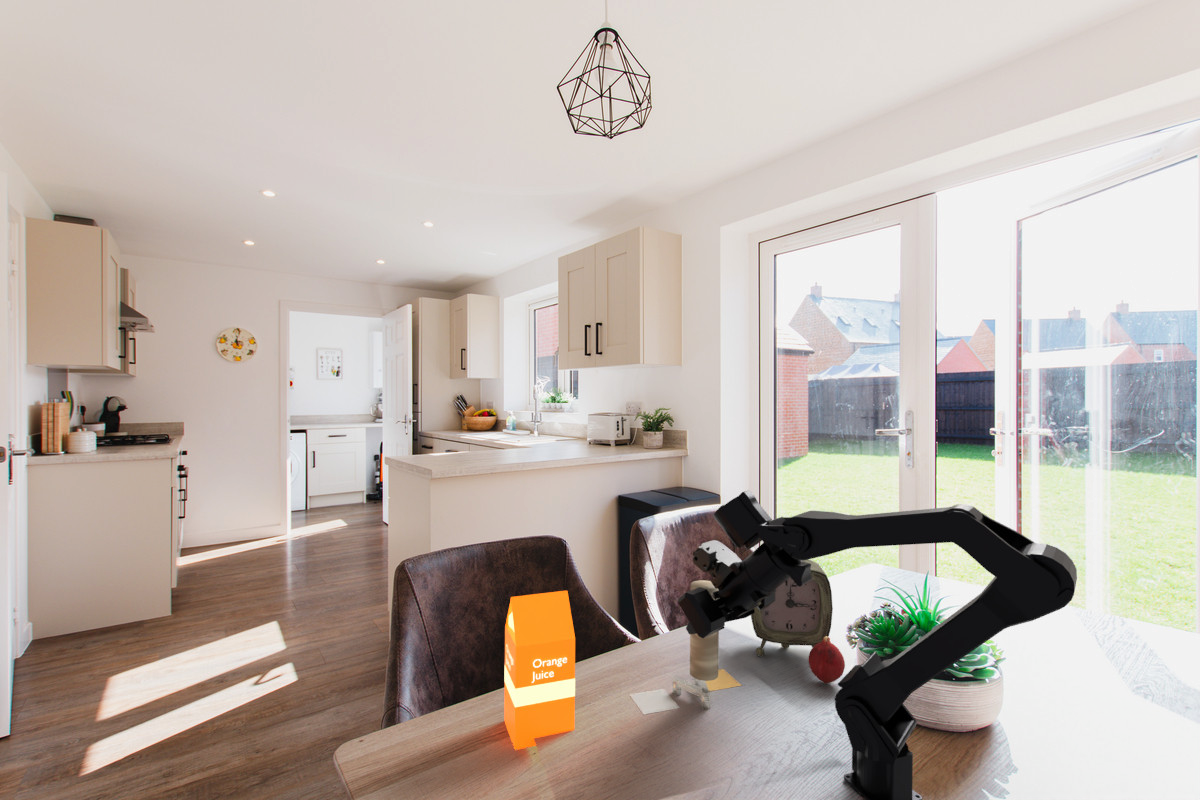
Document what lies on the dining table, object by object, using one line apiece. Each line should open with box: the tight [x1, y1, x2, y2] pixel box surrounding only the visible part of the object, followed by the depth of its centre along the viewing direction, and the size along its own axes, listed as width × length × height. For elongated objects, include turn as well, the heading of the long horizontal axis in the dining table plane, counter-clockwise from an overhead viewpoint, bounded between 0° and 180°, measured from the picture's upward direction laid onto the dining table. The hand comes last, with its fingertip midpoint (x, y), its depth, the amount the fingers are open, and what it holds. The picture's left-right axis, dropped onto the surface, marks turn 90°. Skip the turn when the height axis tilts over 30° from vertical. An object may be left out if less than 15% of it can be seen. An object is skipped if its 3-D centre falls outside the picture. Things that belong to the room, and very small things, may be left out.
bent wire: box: [671, 676, 712, 711], centre depth 90 cm, size 7×6×2 cm
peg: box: [689, 579, 720, 681], centre depth 89 cm, size 4×4×14 cm
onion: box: [807, 636, 846, 685], centre depth 97 cm, size 6×6×8 cm
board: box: [628, 668, 742, 716], centre depth 90 cm, size 14×20×1 cm
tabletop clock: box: [750, 559, 834, 657], centre depth 109 cm, size 14×9×25 cm, turn 80°
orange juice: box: [503, 590, 576, 751], centre depth 83 cm, size 8×9×20 cm
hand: (697, 626), depth 90 cm, fingers closed on peg, 4 cm apart
